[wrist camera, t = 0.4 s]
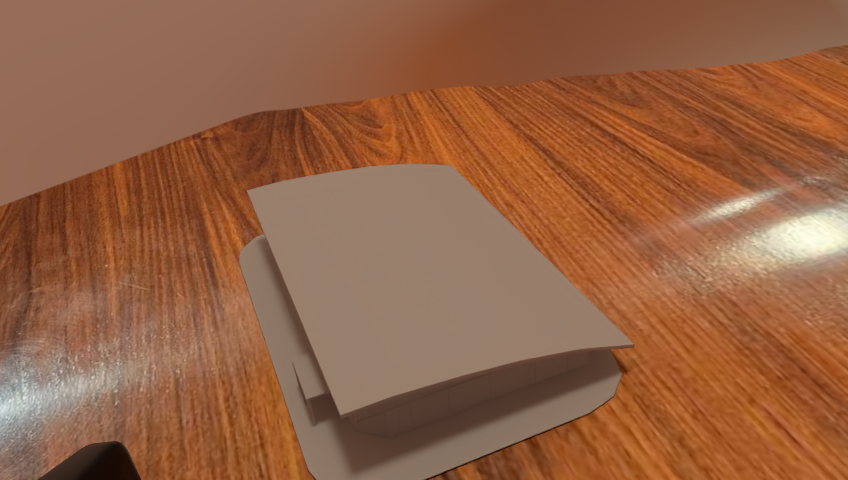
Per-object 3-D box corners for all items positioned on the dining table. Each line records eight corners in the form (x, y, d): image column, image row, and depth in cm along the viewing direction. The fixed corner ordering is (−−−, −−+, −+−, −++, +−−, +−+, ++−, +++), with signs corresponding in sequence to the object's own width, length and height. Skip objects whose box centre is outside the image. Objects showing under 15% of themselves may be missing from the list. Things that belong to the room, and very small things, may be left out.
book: (324, 520, 28) (306, 454, 26) (232, 241, 47) (216, 189, 44) (649, 389, 32) (655, 323, 30) (446, 180, 51) (441, 129, 49)
